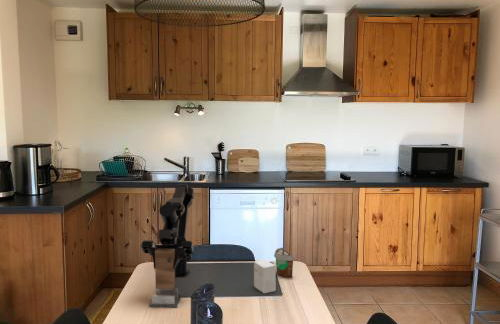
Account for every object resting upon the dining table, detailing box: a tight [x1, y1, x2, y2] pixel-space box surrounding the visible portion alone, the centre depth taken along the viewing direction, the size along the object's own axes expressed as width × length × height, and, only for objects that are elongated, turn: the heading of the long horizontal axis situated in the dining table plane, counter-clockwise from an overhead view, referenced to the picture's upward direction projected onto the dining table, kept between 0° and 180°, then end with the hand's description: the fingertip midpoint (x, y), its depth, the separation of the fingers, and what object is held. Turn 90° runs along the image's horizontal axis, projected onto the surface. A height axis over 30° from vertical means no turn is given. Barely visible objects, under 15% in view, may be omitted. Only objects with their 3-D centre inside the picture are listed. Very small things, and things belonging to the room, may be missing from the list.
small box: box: [253, 259, 277, 294], centre depth 164 cm, size 8×6×10 cm
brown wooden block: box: [154, 249, 176, 290], centre depth 150 cm, size 4×6×14 cm, turn 89°
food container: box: [273, 247, 295, 278], centre depth 179 cm, size 12×6×10 cm, turn 17°
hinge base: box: [148, 287, 182, 309], centre depth 151 cm, size 8×10×4 cm
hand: (164, 268), depth 149 cm, fingers closed on brown wooden block, 6 cm apart
